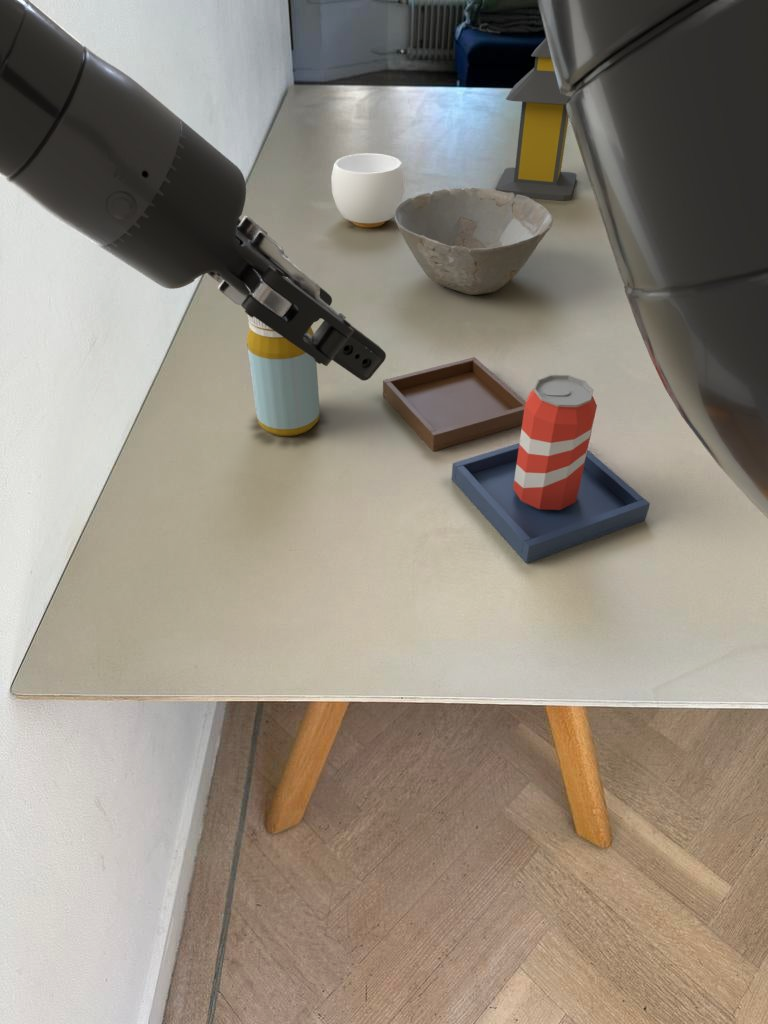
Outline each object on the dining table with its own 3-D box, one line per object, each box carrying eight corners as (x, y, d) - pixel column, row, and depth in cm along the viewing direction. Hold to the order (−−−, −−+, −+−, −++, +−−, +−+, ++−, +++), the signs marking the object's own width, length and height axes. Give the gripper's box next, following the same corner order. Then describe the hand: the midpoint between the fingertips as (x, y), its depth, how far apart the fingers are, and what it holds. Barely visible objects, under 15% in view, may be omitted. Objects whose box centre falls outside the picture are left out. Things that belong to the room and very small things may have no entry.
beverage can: (509, 475, 77) (523, 371, 69) (573, 476, 77) (594, 372, 69) (515, 514, 72) (530, 407, 64) (582, 515, 72) (606, 409, 64)
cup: (322, 215, 134) (319, 157, 128) (385, 205, 138) (385, 148, 132) (350, 239, 126) (348, 178, 120) (416, 228, 130) (417, 168, 123)
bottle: (330, 427, 84) (323, 300, 75) (273, 445, 82) (257, 317, 72) (303, 397, 89) (293, 275, 79) (248, 414, 86) (230, 289, 77)
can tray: (645, 520, 73) (650, 503, 71) (526, 563, 68) (529, 546, 67) (561, 445, 82) (564, 429, 80) (451, 479, 77) (452, 462, 76)
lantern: (576, 177, 150) (605, -5, 130) (569, 201, 140) (600, 7, 120) (505, 171, 153) (523, -8, 133) (494, 194, 143) (511, 3, 123)
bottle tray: (530, 423, 85) (532, 407, 84) (432, 451, 81) (433, 435, 80) (473, 371, 94) (474, 356, 92) (382, 395, 89) (382, 379, 88)
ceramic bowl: (413, 324, 103) (415, 252, 97) (381, 257, 120) (380, 192, 114) (567, 309, 106) (579, 238, 100) (514, 246, 123) (521, 183, 117)
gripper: (211, 149, 32) (437, 338, 43) (141, 82, 42) (340, 250, 53) (113, 291, 34) (355, 437, 45) (68, 195, 44) (276, 335, 55)
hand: (347, 336), depth 49 cm, fingers open, 8 cm apart
